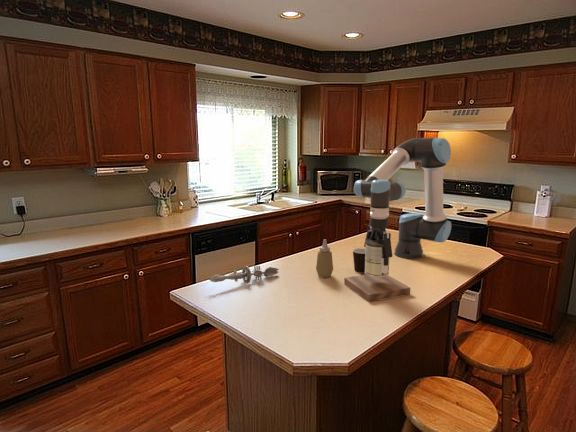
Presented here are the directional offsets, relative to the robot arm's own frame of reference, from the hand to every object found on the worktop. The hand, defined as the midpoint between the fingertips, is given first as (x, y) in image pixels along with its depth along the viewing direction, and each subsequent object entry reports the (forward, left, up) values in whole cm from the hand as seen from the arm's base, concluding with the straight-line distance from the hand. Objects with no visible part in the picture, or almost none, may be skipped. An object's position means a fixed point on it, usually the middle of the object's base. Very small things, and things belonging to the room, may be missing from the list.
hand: (376, 268), depth 161 cm
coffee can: (0, 0, -2) cm, 2 cm away
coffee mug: (-5, -22, -10) cm, 25 cm away
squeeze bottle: (+14, -22, -10) cm, 28 cm away
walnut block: (0, 0, -10) cm, 10 cm away
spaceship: (+50, -27, -10) cm, 58 cm away
